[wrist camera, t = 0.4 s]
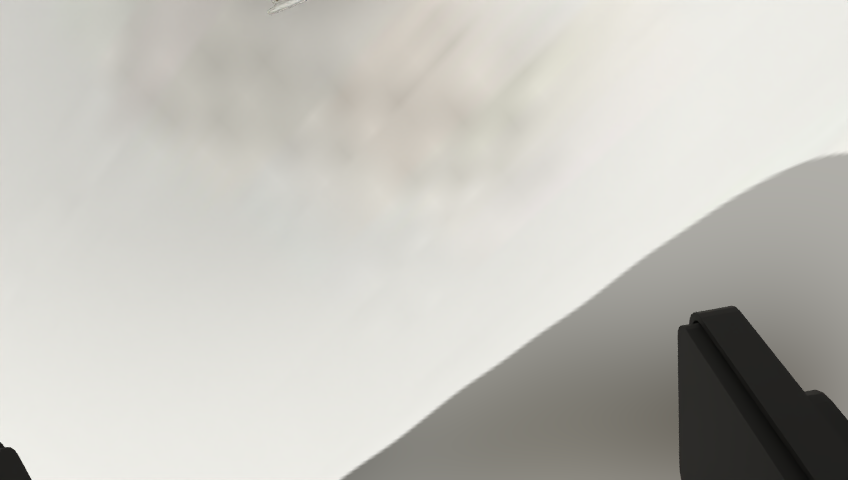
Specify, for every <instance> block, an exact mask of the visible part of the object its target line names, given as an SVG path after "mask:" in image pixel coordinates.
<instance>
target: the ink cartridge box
mask: <svg viewBox="0 0 848 480" xmlns="http://www.w3.org/2000/svg"><path fill="white" fill-rule="evenodd" d="M304 1H307V0H272V2H273V3H274V4H275V5H274V7H272V8H271V9H269V10H268V12H267V13H268V14H275V13H277V12H280V11H282V10H285V9H287V8H290V7H292V6H295V5H297V4H300V3H302V2H304Z"/></svg>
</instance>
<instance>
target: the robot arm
mask: <svg viewBox="0 0 848 480" xmlns="http://www.w3.org/2000/svg"><path fill="white" fill-rule="evenodd" d="M678 384H679V385H678V389H679V459H680V461H679V463H680V474H681V480H848V420H847V419H846V417H845V416H844V415H843V414H842V413H841V411H840V410H839V409H838V408H837V407H836V405H835V404H834V403H833V402H832V401H831V400H830V399H829V398H828V397H827V396H826V395H825V394H824V393H823V392H820V391H818V390H812V391H806V392H804V391H803V390H802V388H801V387H800V386H799V385H798V383H797V382H796V381H795V380H794V378H793V377H792V376H791V375H790V373H789V372H788V371H787V369H786V368H785V367H784V366H783V365H782V363H781V362H780V361H779V359H778V358H777V357H776V356H775V354H774V353H773V352H772V351H771V349H770V348H769V347H768V346H767V344H766V343H765V342H764V341H763V339H762V338H761V337H760V335H759V334H758V333H757V332H756V330H755V329H754V328H753V327H752V325H751V324H750V323H749V322H748V320H747V319H746V318H745V317H744V315H743V314H742V313H741V312H740V311H739V310H738V309H737V308H736V307H734V306H728V307H723V308H718V309H712V310H706V311H701V312H696V313H693V314H691V317H690V322H689V325H683V326H680V327H679V330H678ZM0 480H31V478H30V476H29V474H28V472H27V471H26V469H25V467H24V465H23V463H22V461H21V459H20V458H19V456H18V454H17V453H16V451H15V450H14V449H12V448H11V447H4V446H3V444H2V443H0Z"/></svg>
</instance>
